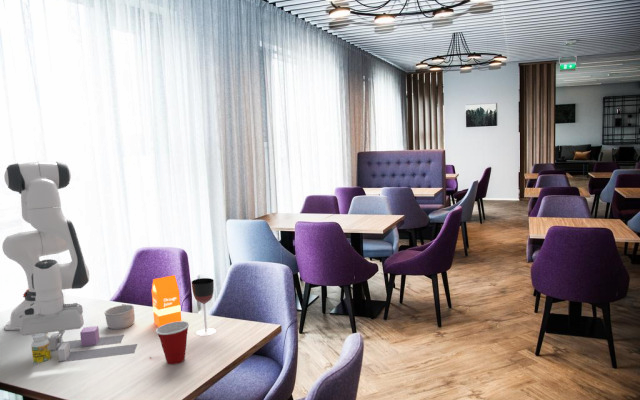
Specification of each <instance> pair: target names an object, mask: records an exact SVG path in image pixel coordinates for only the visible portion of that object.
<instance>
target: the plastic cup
mask: <svg viewBox="0 0 640 400" xmlns="http://www.w3.org/2000/svg"><path fill="white" fill-rule="evenodd" d="M189 326H190V323H189V322H188V321H183V320H181V321H177V322H171V323H168V324H165V325H162V326H160V327H157V328H156V329H155V333H156V334H157V336H158V338H159V341H160V345H161V348H162V351H163V354H164V357H165V361H166V363H167V364H169V365H177V364H181V363H183V362H184V361H185V358H186V352H187V341H188V340H187V338H188V337H187V336H188V330H189Z"/></svg>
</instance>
